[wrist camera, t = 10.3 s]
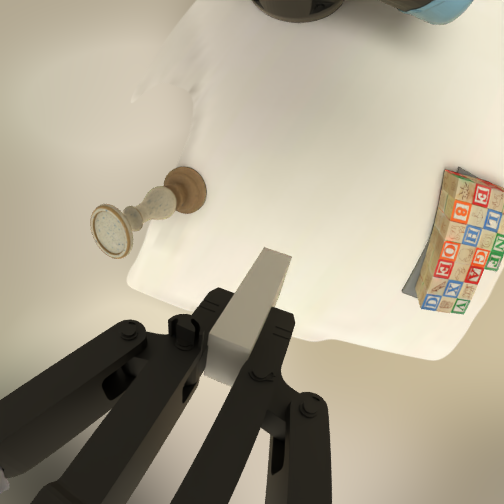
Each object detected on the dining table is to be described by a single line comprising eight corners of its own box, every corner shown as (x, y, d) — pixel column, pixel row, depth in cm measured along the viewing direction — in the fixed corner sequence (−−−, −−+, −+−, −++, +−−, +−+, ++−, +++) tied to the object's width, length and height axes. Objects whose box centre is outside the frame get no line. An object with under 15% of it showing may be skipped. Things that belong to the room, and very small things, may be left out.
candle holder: (168, 161, 48) (85, 194, 31) (210, 172, 46) (132, 212, 29) (164, 204, 52) (89, 250, 35) (203, 217, 51) (133, 273, 34)
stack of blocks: (413, 287, 43) (467, 296, 40) (419, 309, 38) (476, 317, 34) (444, 168, 33) (503, 186, 29) (459, 177, 27) (521, 198, 24)
